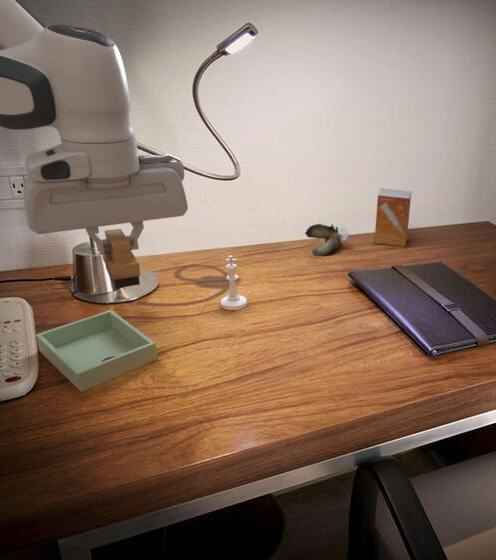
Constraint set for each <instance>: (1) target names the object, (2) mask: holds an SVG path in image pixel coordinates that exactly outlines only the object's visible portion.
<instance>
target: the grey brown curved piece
mask: <svg viewBox="0 0 496 560" xmlns="http://www.w3.org/2000/svg"><path fill="white" fill-rule="evenodd" d="M304 234H305V236H306V237H307V238H311V239H312V238H313V239H324V240H323V241H322V242H321V244H320V245H319V246H317V247H316V248H314V249H312V252H311V253H312V255H313V256H326V255H329V253H331V252H332V251H333V250H335V249H337V248H338V247H339V246H341V245H342V244H341V241H342V242H345V241H346V240H347V239H348V238H349V231H348V230H347V229H346V228H344V227H341V228H340V229H339V227H338V226H334V224H333V223H331V225H330V226H329V225H326V224H325V225H324V224H321V223H316V224H313V225H310V226H309V227H308V228H306V231H305V232H304Z"/></svg>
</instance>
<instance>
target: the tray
mask: <svg viewBox="0 0 496 560" xmlns="http://www.w3.org/2000/svg"><path fill="white" fill-rule="evenodd" d="M35 338H36V342H37V346H38V350H39V352H40V353H41V354H42V355H43V356H44V357H45V358H46V359H47V360H48V361H49V362H50V363H51V364H52V365H53V366H54V367H55V368H56V369H57V370H58V371H59V372H60V373H61V374H62V375H63V376H64V377H65V378H66V379H67V380H68V381H69V382H70V383H71V384H72V385H73V386H75V388H76V389H77V390H78V391H79V392H81V393H83V392H85V391H86V390H90V389H91V388H93V387H96V386H98V385H101V384H103V383H106V382H108V381H111V380H112V379H115V378H117V377H120V376H122V375H124V374H127V373H129V372H132V371H134V370H136V369H139V368H142V367H144V366H146V365H149V364H151V363H153V362H155V361H157V360H159V357H158V350H157V345H156V344H157V343H156V342H155V341H153V340H152V339H150V338H149V337H148V336H147V335H146V334H144V333H143V332H141V331H140V330H139V329H137V328H136V327H134V326H133V325H132V324H131V323H130V322H128V321H127V320H125V319H124V318H123V317H121V316H120V315H119V314H118V313H116V312H115V311H113V310H112V309H109V310H105V311H103V312H100V313H97V314H94V315H90V316H88V317H85V318H82V319H77V320H76V321H73V322H70V323H67V324H64V325H61V326H57V327H54V328H50V329H49V330H44V331H42V332H39V333H36V334H35ZM112 356H116V357H113V358H111V359H108V360H106V361H103V362H102V360H104V359H106V358H108V357H112Z"/></svg>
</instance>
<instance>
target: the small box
mask: <svg viewBox="0 0 496 560" xmlns="http://www.w3.org/2000/svg"><path fill="white" fill-rule="evenodd" d="M411 200H412V191H410V190H400V189H393V188H392V189H390V188H388V189H387V188H379V192H378V194H377V200H376V201H377V203H376V215H375V230H374V232H375V233H374V244H376V245H386V246H393V247H394V246H395V247H401V248H402V247H403V248H405V247H406V245H407V240H408V231H409V222H410V211H411V210H410V209H411Z"/></svg>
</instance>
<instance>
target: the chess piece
mask: <svg viewBox="0 0 496 560" xmlns="http://www.w3.org/2000/svg"><path fill="white" fill-rule="evenodd" d="M225 262H226V263H227V264H226V265H225V269H226V271H227V274H228V275H227V276H226V277H225V279H226V280H227V281H229V288H228V295H226V296H224V297H222V298H221V300H220V307H221V308H222V309H224V310H227V311H238V310H242V309H244V308H246V307H247V305H248V299H247V297H246V296H244V295H242V294H239V292H238V289H237V288H238V287H237V283H236V281H237V280H239V276H238V275H237V274H236V273H237V269H238V265H237V264H235V263H236V262H237V259H236V258H233V255H229V257H228V258H226V259H225Z"/></svg>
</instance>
